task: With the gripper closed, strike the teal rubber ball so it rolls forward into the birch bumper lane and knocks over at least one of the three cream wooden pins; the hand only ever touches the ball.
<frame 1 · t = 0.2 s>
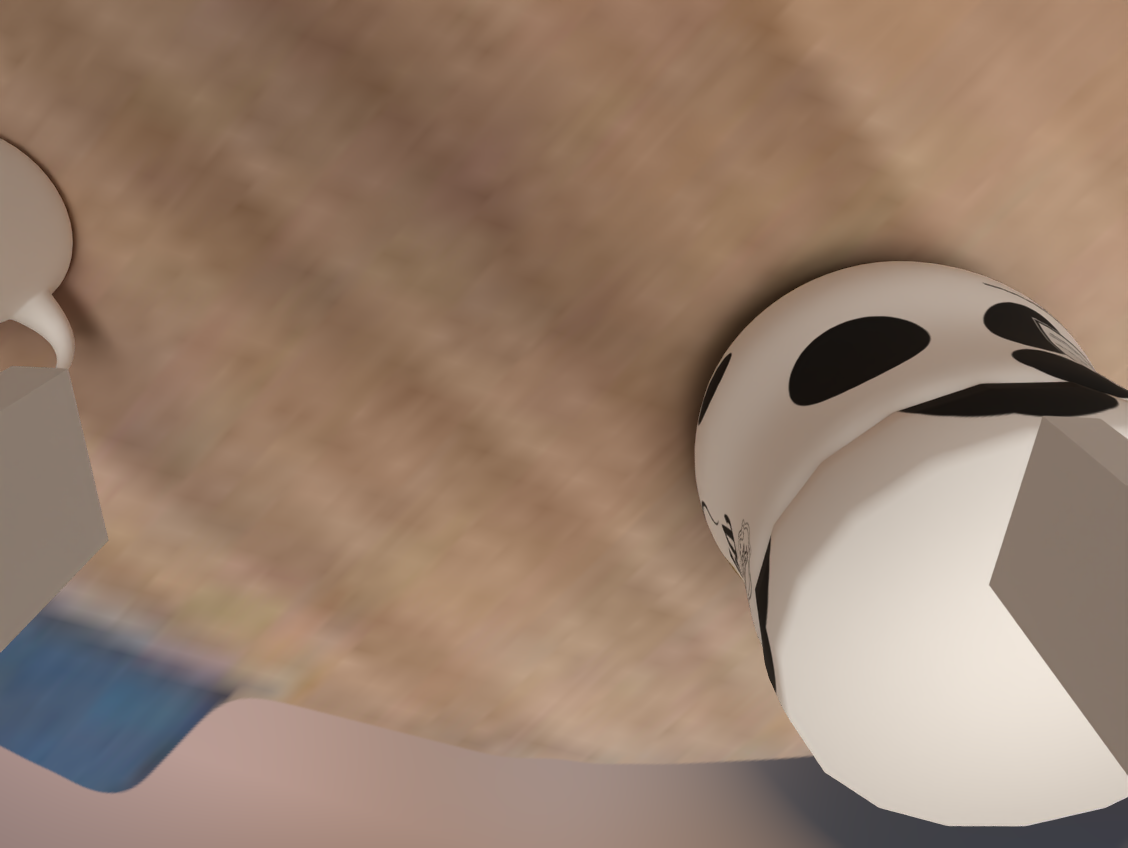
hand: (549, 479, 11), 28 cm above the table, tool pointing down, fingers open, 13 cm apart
milk container: (856, 411, 41), on the table
mug: (20, 247, 39), on the table
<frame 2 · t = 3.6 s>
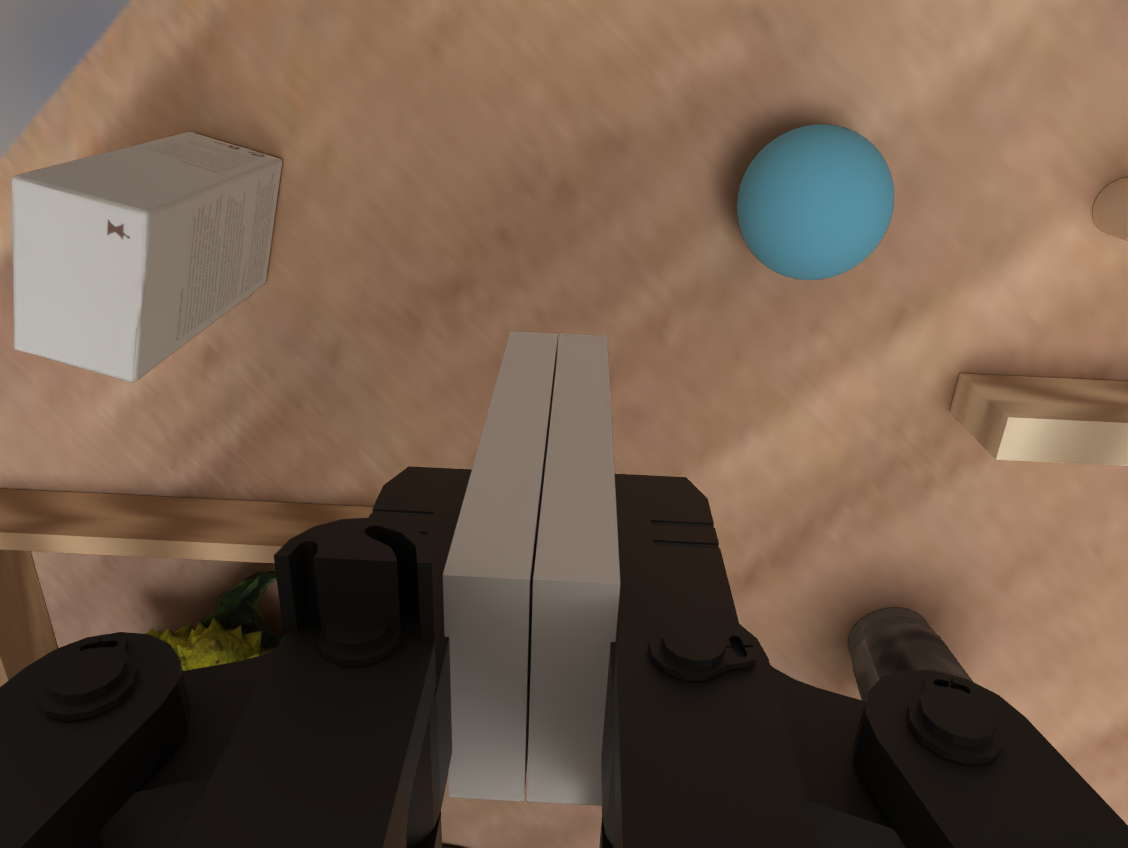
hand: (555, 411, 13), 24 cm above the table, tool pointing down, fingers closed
beverage cup: (887, 637, 46), on the table
ball: (813, 203, 33), on the table
skincare box: (230, 210, 37), on the table
crate: (218, 647, 47), on the table
vegetable: (262, 682, 48), resting in crate
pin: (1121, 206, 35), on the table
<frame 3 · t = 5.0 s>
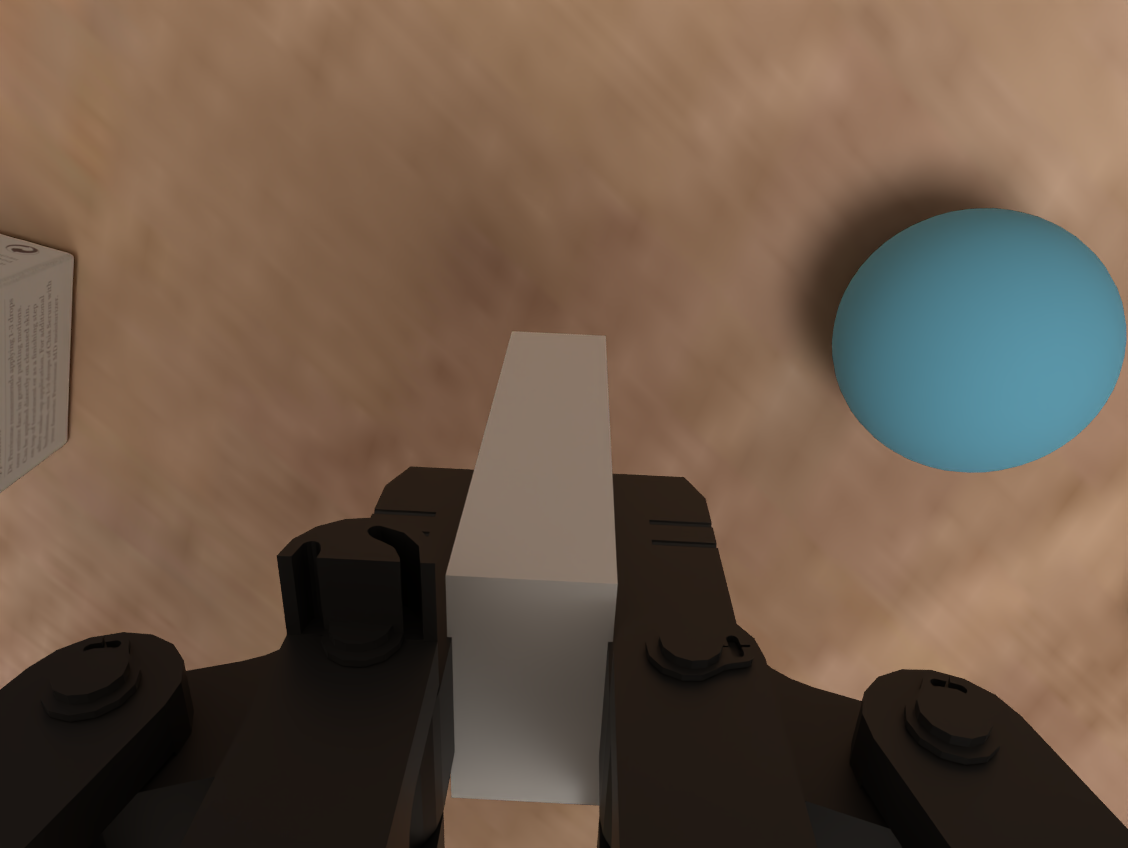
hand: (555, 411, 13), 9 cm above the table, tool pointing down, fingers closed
ball: (968, 342, 19), on the table
skincare box: (2, 332, 23), on the table
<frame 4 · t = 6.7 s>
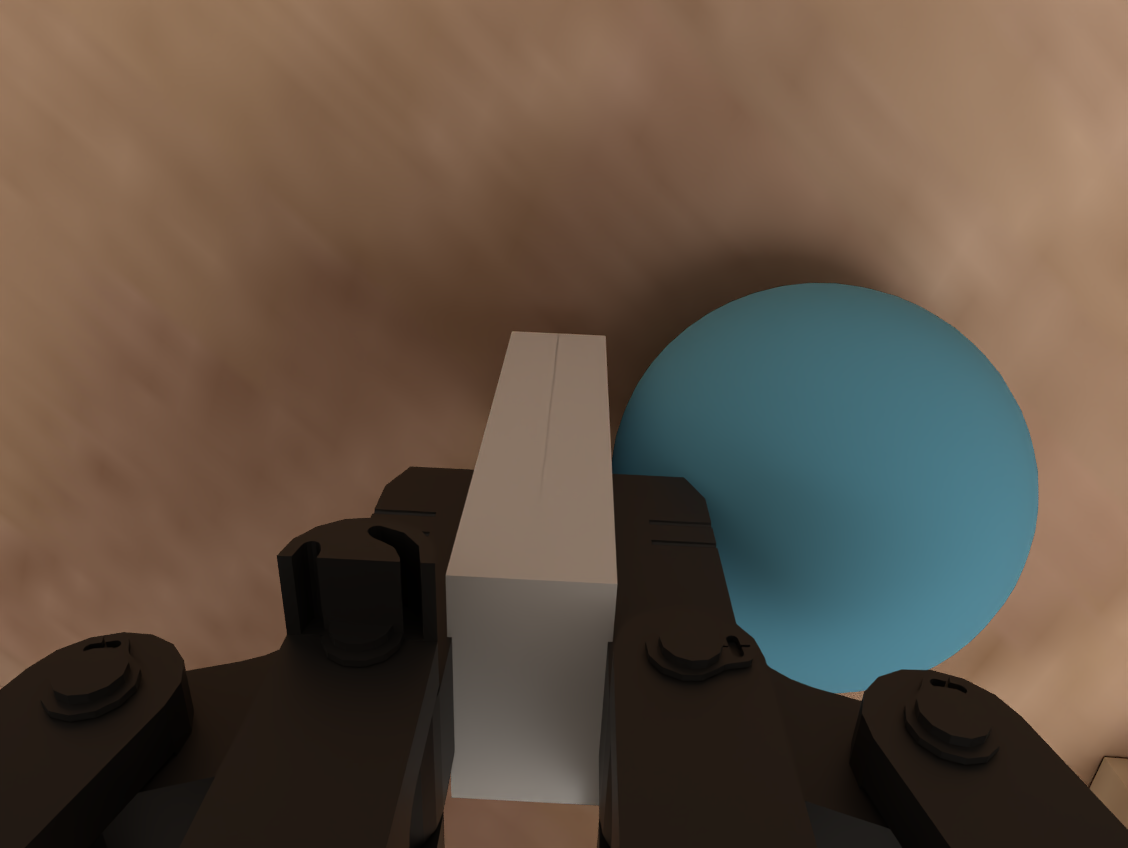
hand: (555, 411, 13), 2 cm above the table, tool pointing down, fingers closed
ball: (809, 484, 12), on the table, touching gripper
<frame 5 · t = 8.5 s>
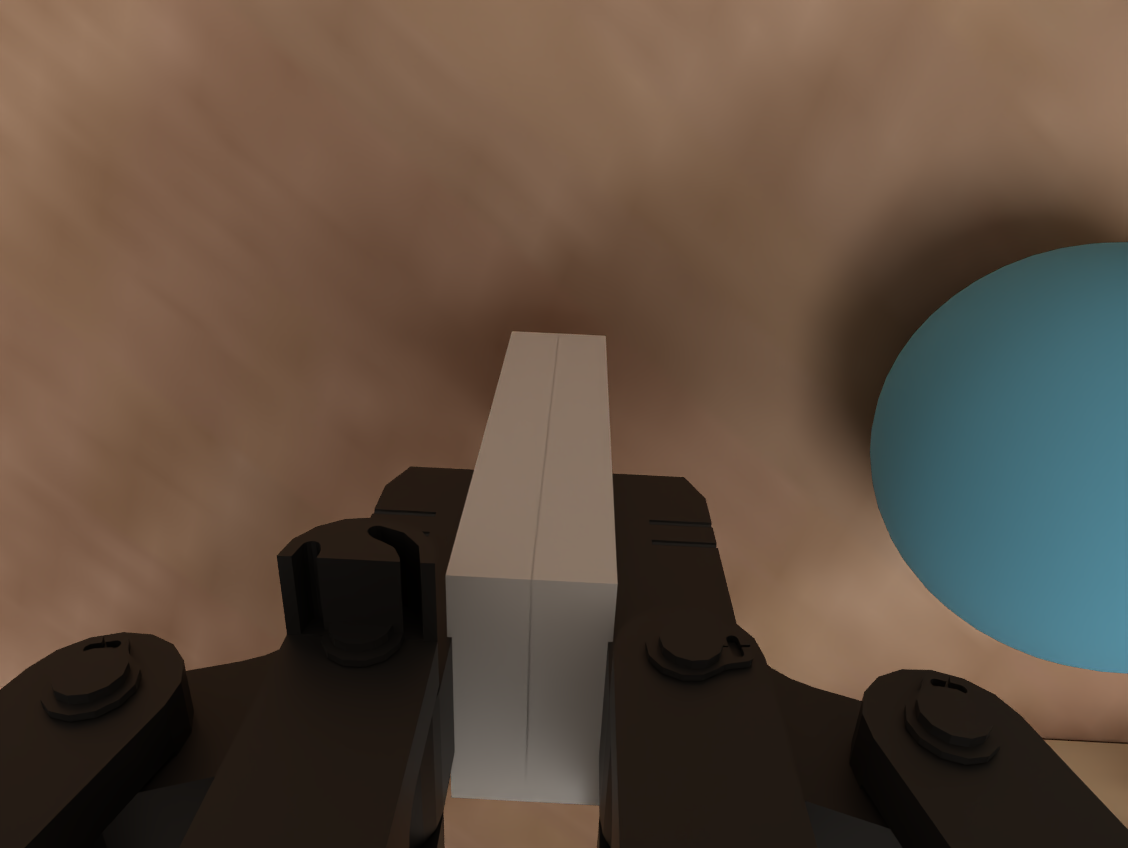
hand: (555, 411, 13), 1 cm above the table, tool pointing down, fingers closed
ball: (1092, 455, 12), on the table
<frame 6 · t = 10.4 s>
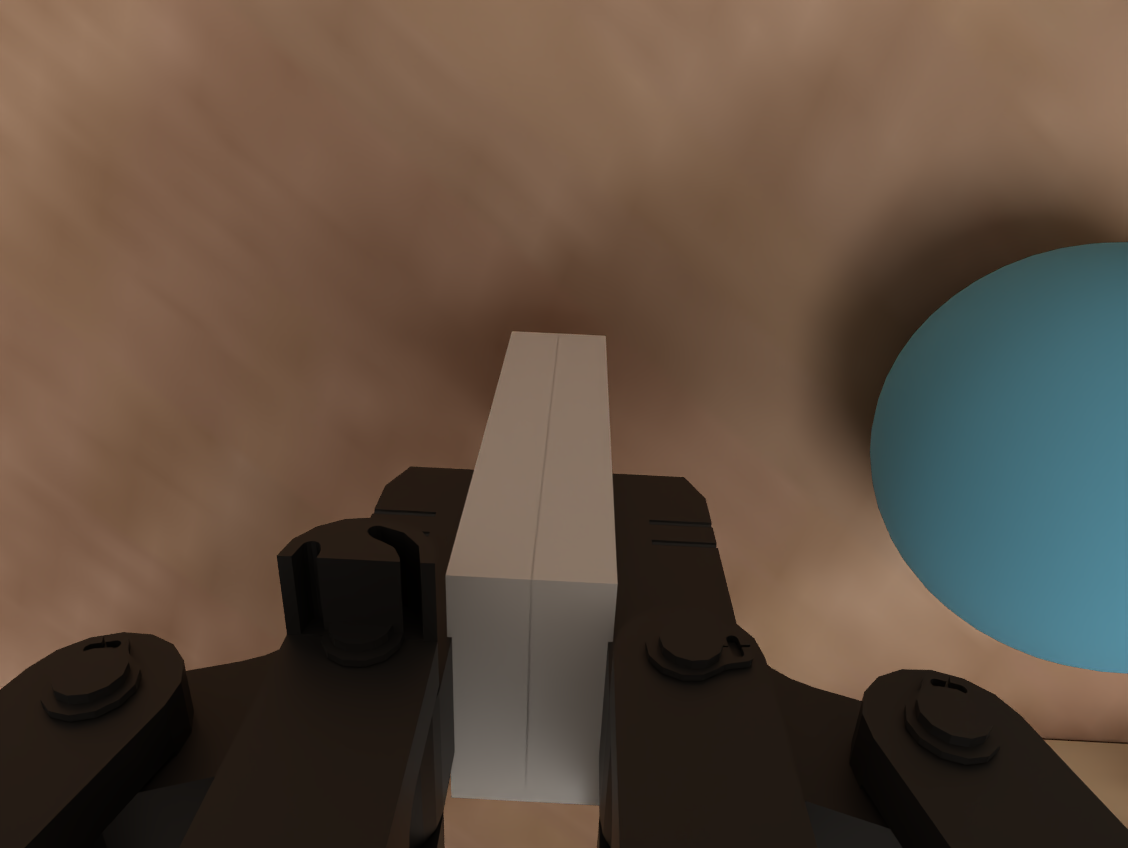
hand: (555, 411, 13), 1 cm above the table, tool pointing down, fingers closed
ball: (1092, 455, 12), on the table
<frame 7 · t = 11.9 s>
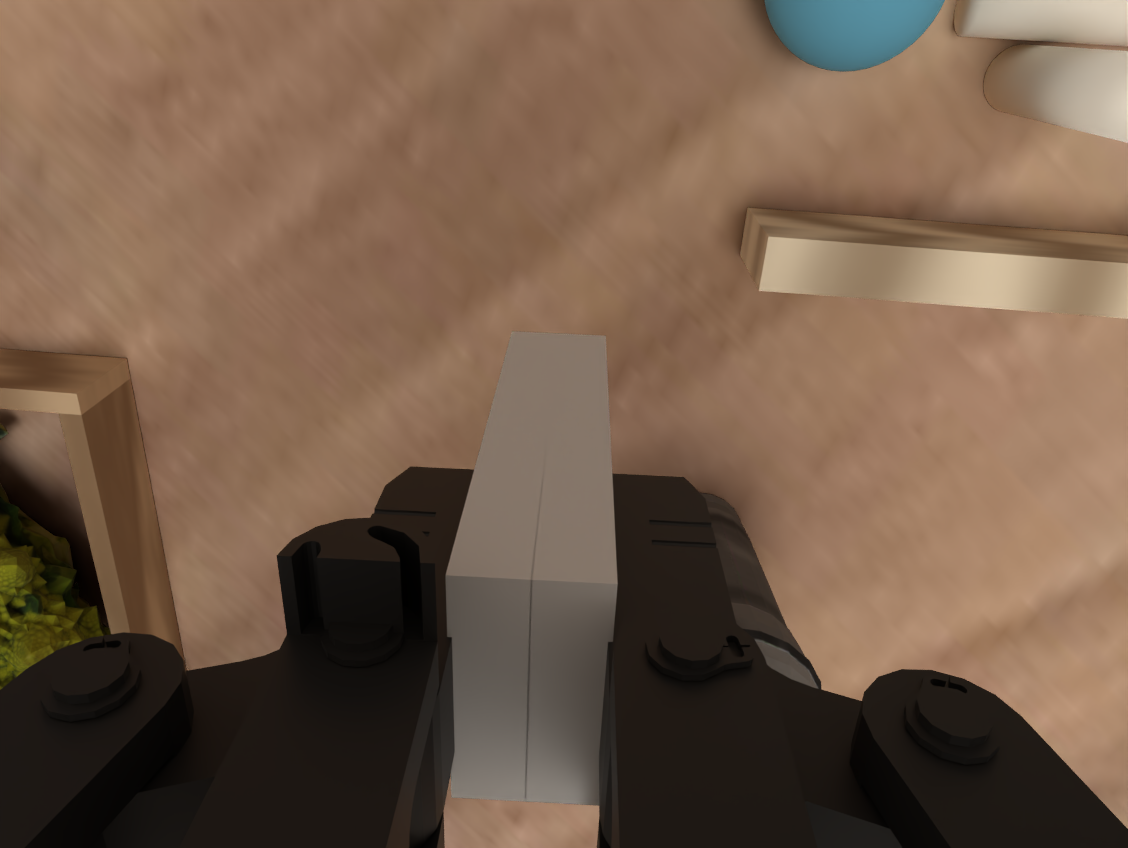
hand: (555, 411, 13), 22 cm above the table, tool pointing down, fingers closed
beverage cup: (694, 529, 41), on the table
bumper: (1084, 8, 30), on the table
vegetable: (15, 561, 44), resting in crate
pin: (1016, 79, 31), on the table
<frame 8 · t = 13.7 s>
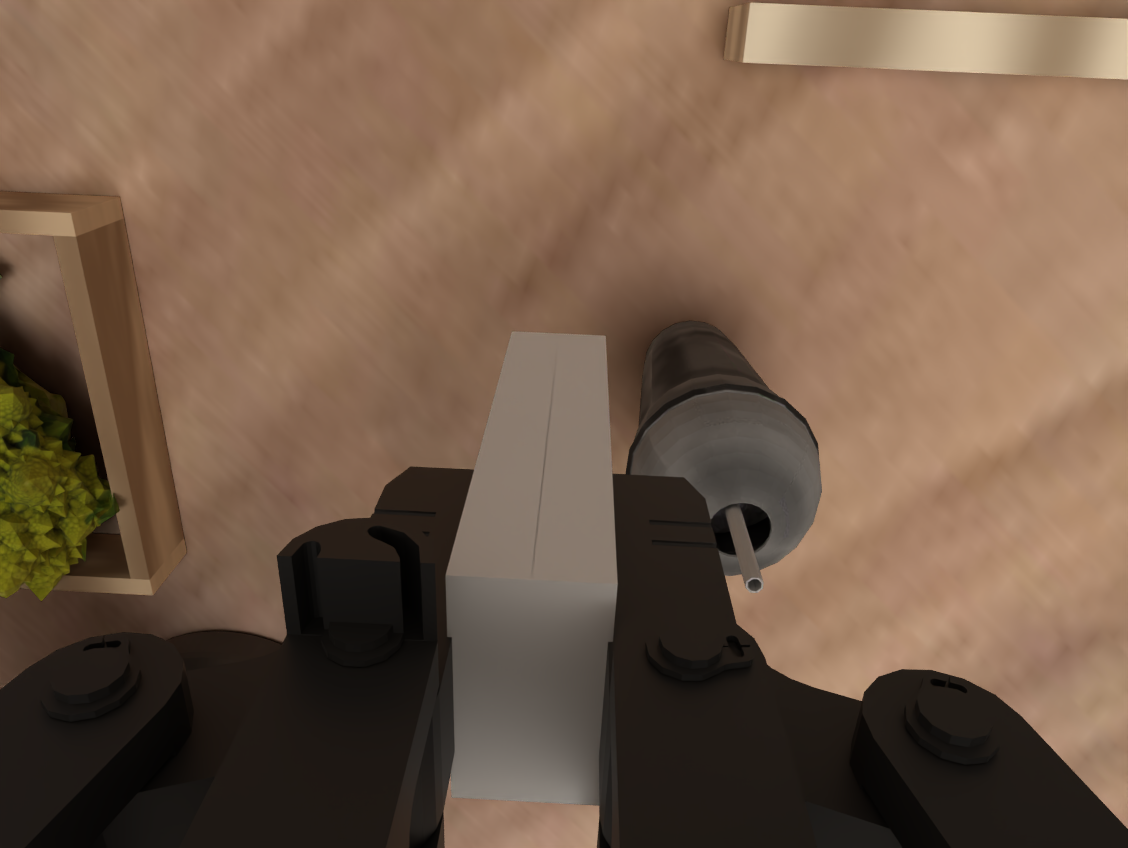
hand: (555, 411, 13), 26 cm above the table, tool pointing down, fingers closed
beverage cup: (688, 362, 41), on the table
vegetable: (10, 425, 44), resting in crate
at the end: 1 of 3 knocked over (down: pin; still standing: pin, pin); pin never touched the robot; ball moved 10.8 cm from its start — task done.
